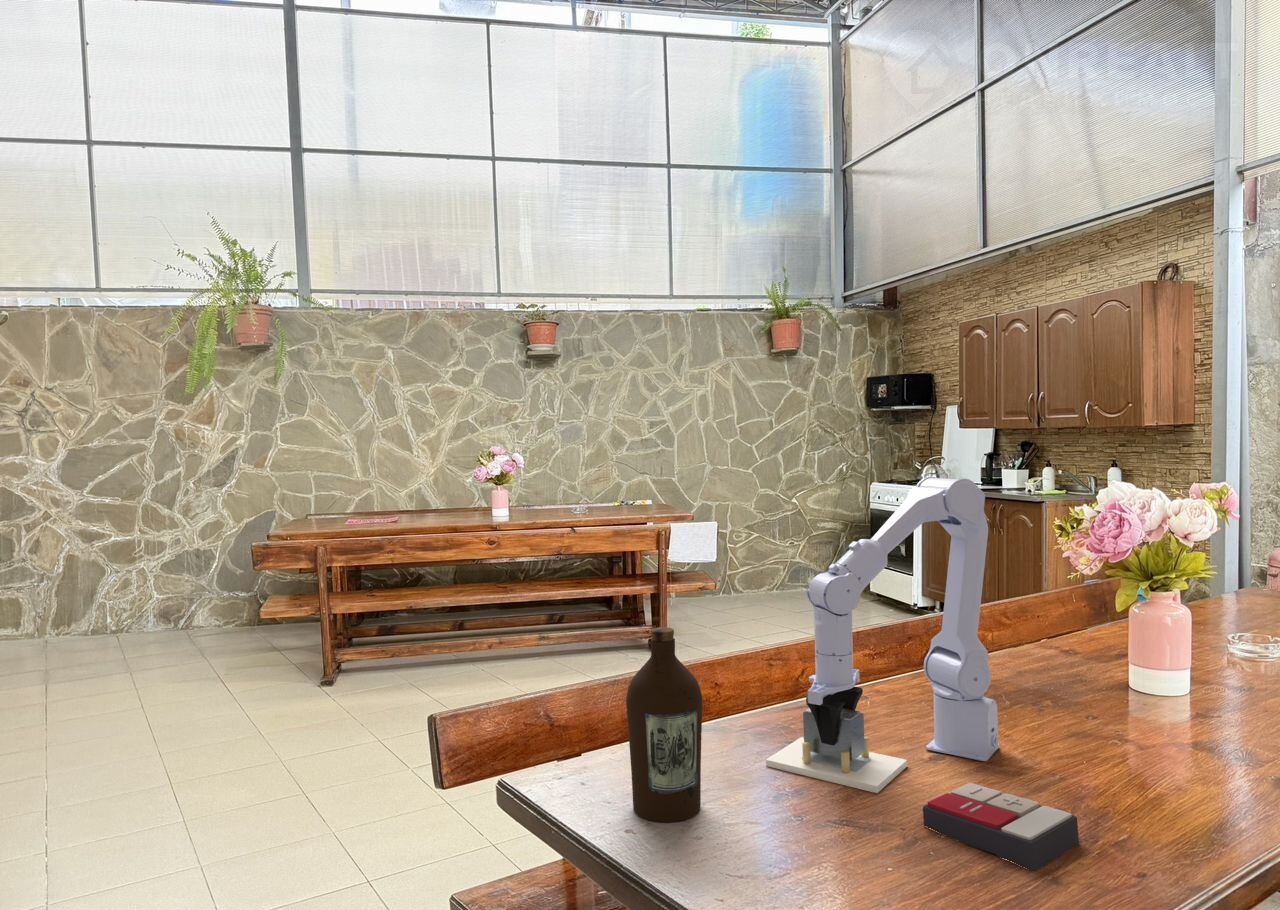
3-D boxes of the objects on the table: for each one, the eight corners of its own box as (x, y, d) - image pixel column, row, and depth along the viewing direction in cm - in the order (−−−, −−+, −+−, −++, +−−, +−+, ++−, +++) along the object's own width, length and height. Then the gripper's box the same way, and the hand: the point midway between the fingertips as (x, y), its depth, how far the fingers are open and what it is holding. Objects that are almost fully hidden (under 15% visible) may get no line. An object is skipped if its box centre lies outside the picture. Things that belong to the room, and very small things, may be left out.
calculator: (968, 778, 116) (1078, 810, 104) (970, 810, 116) (1080, 845, 104) (920, 800, 110) (1031, 836, 98) (922, 833, 110) (1033, 873, 98)
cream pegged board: (907, 766, 130) (906, 740, 129) (877, 793, 120) (876, 765, 120) (801, 742, 141) (800, 719, 140) (766, 765, 131) (765, 740, 131)
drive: (864, 751, 130) (863, 711, 130) (851, 761, 126) (850, 720, 126) (817, 741, 135) (816, 702, 135) (804, 750, 131) (803, 710, 131)
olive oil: (621, 797, 121) (617, 624, 121) (692, 788, 123) (688, 619, 123) (638, 829, 111) (633, 641, 110) (715, 819, 113) (710, 634, 113)
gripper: (830, 638, 138) (831, 720, 138) (788, 658, 127) (790, 747, 127) (871, 644, 134) (872, 728, 134) (832, 664, 122) (834, 757, 123)
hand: (835, 738), depth 130 cm, fingers closed on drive, 5 cm apart
